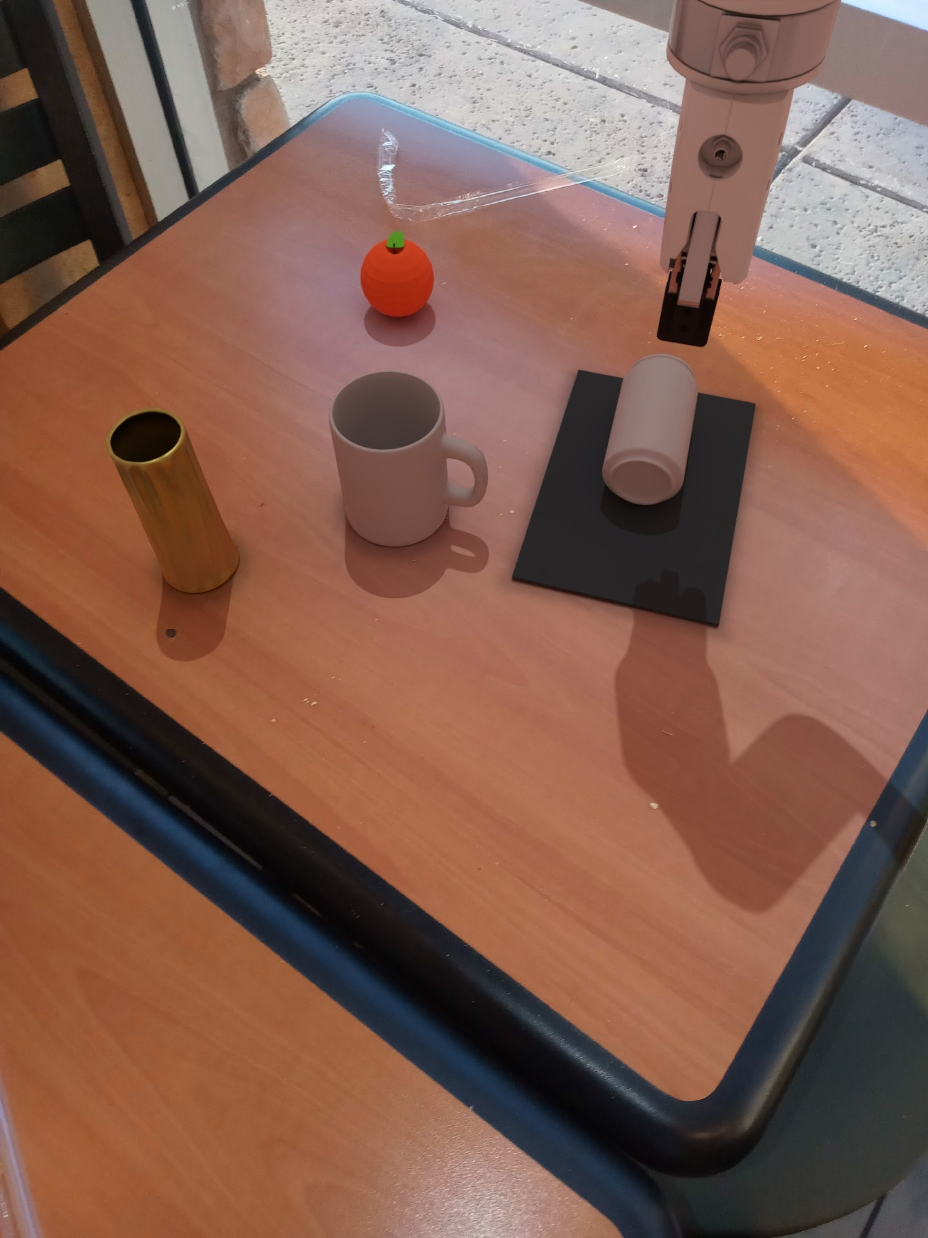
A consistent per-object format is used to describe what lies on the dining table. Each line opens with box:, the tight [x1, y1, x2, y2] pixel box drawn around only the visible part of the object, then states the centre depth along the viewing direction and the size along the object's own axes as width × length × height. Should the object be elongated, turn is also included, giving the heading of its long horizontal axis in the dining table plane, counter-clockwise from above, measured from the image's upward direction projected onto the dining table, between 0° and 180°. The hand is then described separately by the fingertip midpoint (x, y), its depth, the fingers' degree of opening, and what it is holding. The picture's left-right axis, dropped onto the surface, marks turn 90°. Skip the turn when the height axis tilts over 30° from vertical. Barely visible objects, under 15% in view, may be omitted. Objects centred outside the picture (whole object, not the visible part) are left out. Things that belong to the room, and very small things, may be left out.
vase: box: [105, 407, 240, 594], centre depth 66 cm, size 6×6×14 cm
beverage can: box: [602, 353, 699, 505], centre depth 74 cm, size 6×6×12 cm
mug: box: [328, 369, 489, 548], centre depth 70 cm, size 12×8×11 cm
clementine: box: [359, 230, 435, 318], centre depth 85 cm, size 8×7×7 cm
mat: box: [511, 369, 756, 628], centre depth 76 cm, size 24×16×1 cm, turn 164°
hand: (682, 335), depth 58 cm, fingers closed
